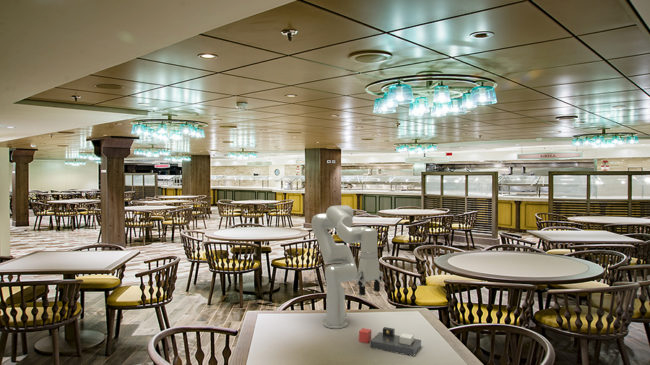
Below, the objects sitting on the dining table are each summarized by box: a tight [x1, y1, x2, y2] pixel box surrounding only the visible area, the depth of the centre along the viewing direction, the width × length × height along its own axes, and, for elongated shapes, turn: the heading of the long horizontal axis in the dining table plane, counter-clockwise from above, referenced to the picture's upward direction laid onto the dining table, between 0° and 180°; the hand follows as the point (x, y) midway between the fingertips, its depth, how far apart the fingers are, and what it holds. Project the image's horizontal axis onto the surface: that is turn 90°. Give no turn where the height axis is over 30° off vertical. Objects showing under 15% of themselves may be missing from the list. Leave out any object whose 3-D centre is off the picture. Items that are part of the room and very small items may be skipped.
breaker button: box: [399, 332, 415, 345], centre depth 191 cm, size 5×5×3 cm
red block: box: [358, 327, 372, 344], centre depth 200 cm, size 4×4×5 cm
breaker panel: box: [369, 327, 422, 356], centre depth 193 cm, size 12×20×6 cm, turn 62°
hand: (369, 292), depth 194 cm, fingers open, 9 cm apart
